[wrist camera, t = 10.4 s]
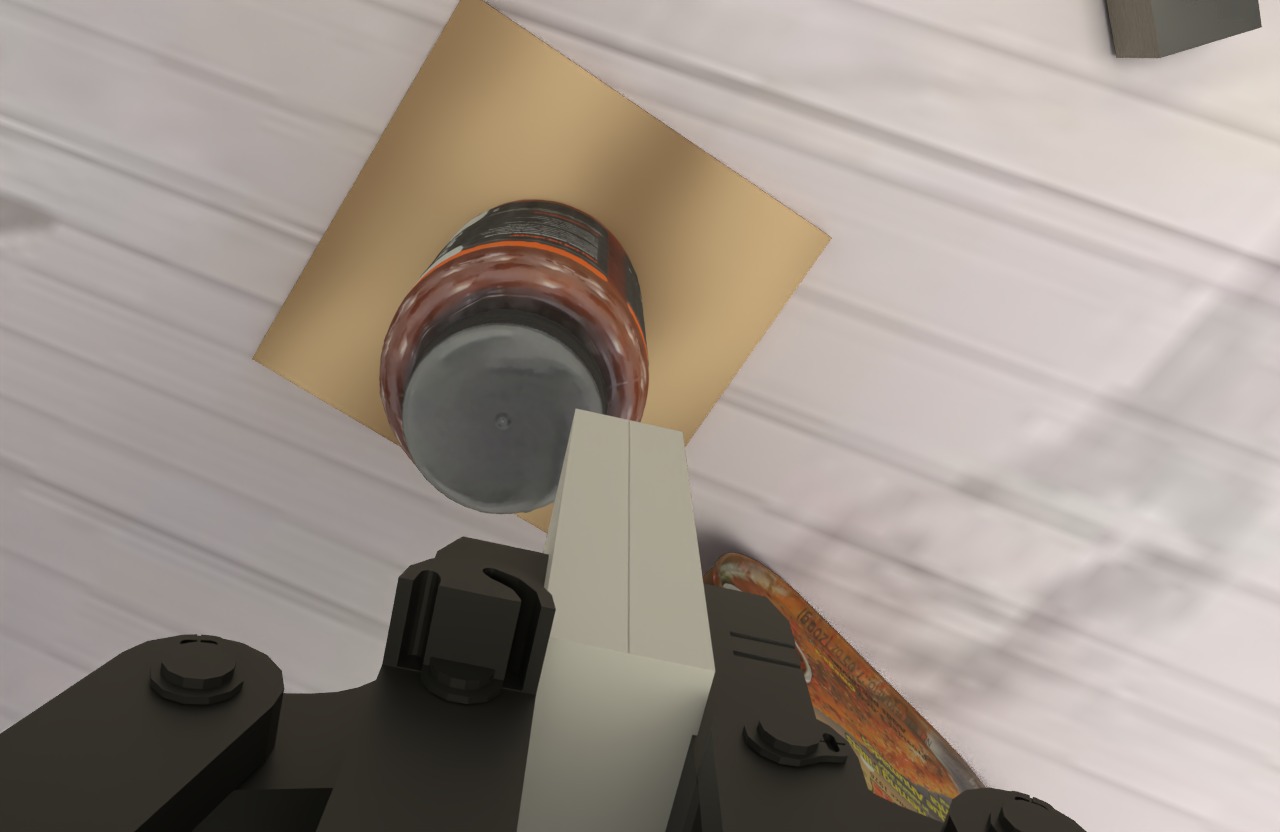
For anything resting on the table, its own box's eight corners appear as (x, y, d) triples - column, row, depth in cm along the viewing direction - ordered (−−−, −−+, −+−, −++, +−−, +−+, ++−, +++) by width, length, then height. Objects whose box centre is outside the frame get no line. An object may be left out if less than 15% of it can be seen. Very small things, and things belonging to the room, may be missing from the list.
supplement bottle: (406, 224, 33) (306, 308, 22) (613, 172, 33) (613, 233, 22) (465, 421, 35) (399, 588, 24) (662, 374, 35) (684, 522, 24)
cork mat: (257, 353, 35) (251, 358, 34) (469, -9, 32) (466, -11, 31) (601, 557, 37) (601, 565, 36) (827, 234, 34) (831, 238, 34)
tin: (1013, 806, 40) (1114, 996, 32) (941, 861, 41) (1023, 1062, 33) (714, 507, 37) (743, 636, 29) (640, 572, 37) (648, 716, 29)
